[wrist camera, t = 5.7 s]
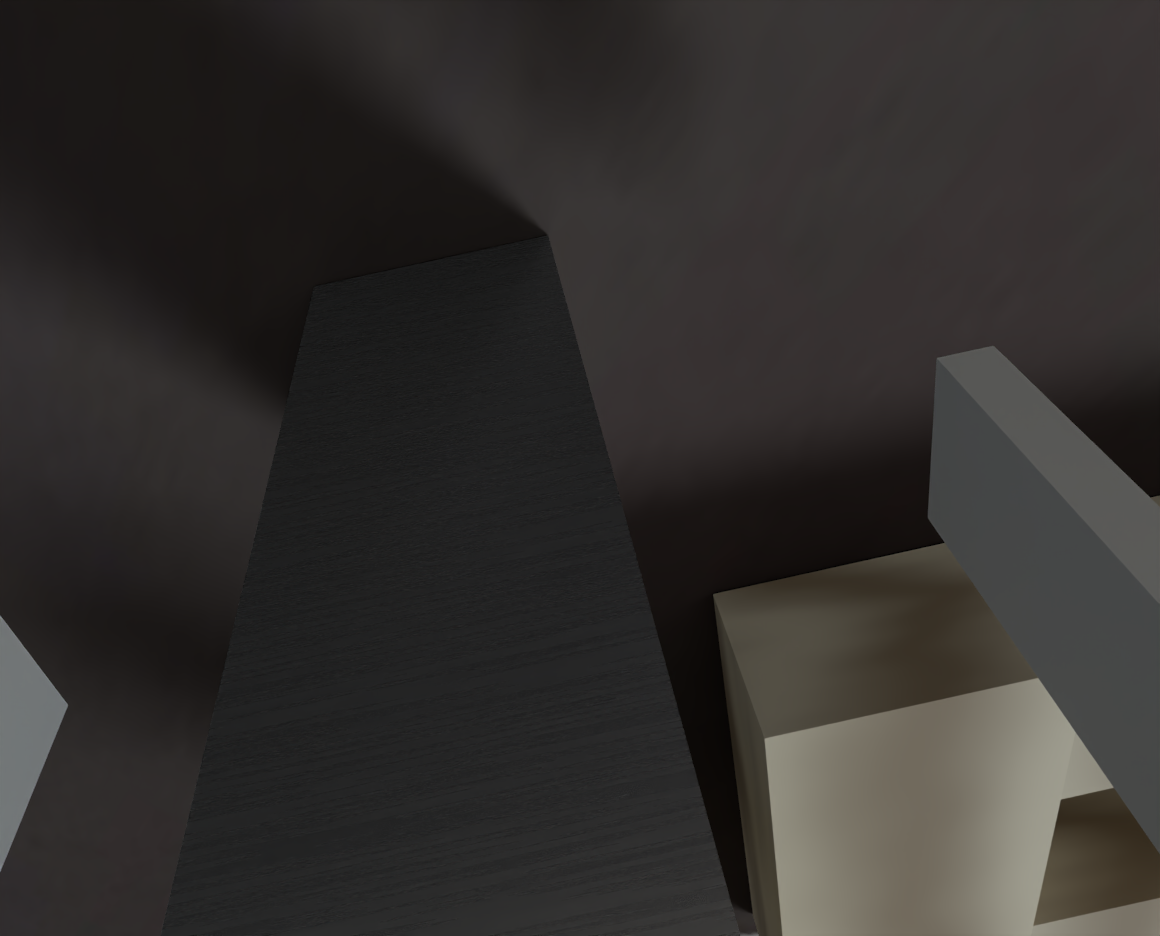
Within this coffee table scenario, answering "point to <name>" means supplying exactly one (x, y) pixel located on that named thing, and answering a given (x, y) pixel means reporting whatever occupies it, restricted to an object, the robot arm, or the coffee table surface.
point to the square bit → (445, 645)
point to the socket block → (915, 766)
